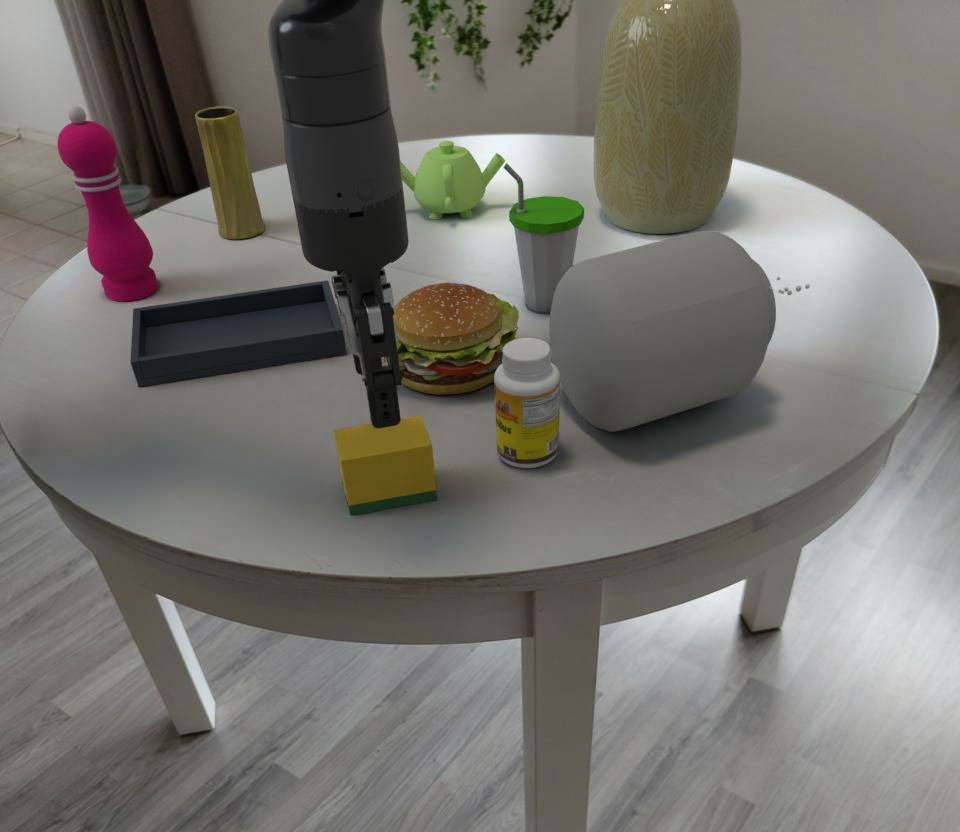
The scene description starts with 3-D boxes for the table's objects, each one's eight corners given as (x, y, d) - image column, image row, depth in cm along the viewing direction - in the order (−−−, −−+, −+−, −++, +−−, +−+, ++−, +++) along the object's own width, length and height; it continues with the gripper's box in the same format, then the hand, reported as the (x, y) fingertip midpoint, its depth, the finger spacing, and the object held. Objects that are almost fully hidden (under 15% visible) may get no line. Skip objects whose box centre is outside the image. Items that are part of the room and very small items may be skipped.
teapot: (450, 233, 121) (445, 163, 115) (390, 213, 126) (383, 145, 121) (509, 207, 126) (507, 138, 120) (449, 188, 132) (444, 123, 126)
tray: (138, 387, 96) (130, 362, 94) (140, 332, 105) (133, 308, 103) (346, 354, 99) (343, 329, 97) (332, 303, 108) (328, 279, 106)
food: (482, 417, 89) (478, 339, 83) (360, 386, 94) (348, 310, 88) (546, 352, 97) (546, 277, 92) (430, 327, 102) (424, 254, 97)
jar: (522, 314, 93) (754, 239, 95) (568, 457, 94) (796, 380, 96) (555, 247, 74) (843, 154, 76) (613, 426, 76) (895, 331, 77)
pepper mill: (104, 281, 115) (43, 100, 101) (164, 274, 116) (112, 93, 102) (98, 307, 110) (33, 119, 96) (161, 299, 111) (105, 112, 96)
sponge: (350, 515, 79) (340, 460, 75) (342, 483, 82) (333, 429, 78) (437, 500, 80) (432, 445, 76) (426, 469, 83) (420, 414, 79)
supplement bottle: (491, 441, 86) (486, 337, 79) (550, 432, 86) (550, 328, 79) (504, 475, 82) (500, 369, 75) (565, 466, 83) (568, 359, 75)
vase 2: (617, 184, 130) (631, -54, 111) (740, 199, 124) (776, -50, 105) (571, 230, 119) (576, -25, 100) (703, 249, 114) (735, -18, 95)
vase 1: (210, 238, 123) (181, 118, 113) (232, 220, 127) (206, 103, 117) (252, 241, 122) (226, 121, 112) (273, 223, 126) (250, 105, 116)
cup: (593, 297, 106) (599, 155, 95) (558, 326, 101) (561, 180, 91) (534, 283, 109) (533, 144, 98) (498, 311, 104) (493, 168, 94)
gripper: (282, 157, 68) (320, 363, 79) (302, 230, 58) (343, 453, 69) (384, 143, 69) (407, 348, 80) (421, 213, 59) (442, 436, 70)
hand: (377, 397), depth 75 cm, fingers open, 8 cm apart
